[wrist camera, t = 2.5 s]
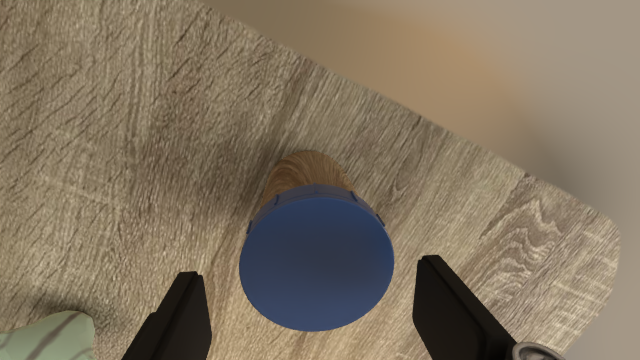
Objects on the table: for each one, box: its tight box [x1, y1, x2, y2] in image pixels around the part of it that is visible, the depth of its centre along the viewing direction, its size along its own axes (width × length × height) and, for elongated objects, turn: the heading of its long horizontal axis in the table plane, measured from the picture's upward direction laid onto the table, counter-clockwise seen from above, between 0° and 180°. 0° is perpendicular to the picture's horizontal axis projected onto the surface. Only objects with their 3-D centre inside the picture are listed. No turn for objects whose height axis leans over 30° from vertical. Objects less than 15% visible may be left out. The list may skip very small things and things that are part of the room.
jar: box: [258, 151, 359, 212], centre depth 18 cm, size 6×6×9 cm
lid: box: [239, 183, 394, 332], centre depth 13 cm, size 7×7×2 cm
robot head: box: [0, 310, 97, 360], centre depth 20 cm, size 8×4×7 cm, turn 63°
